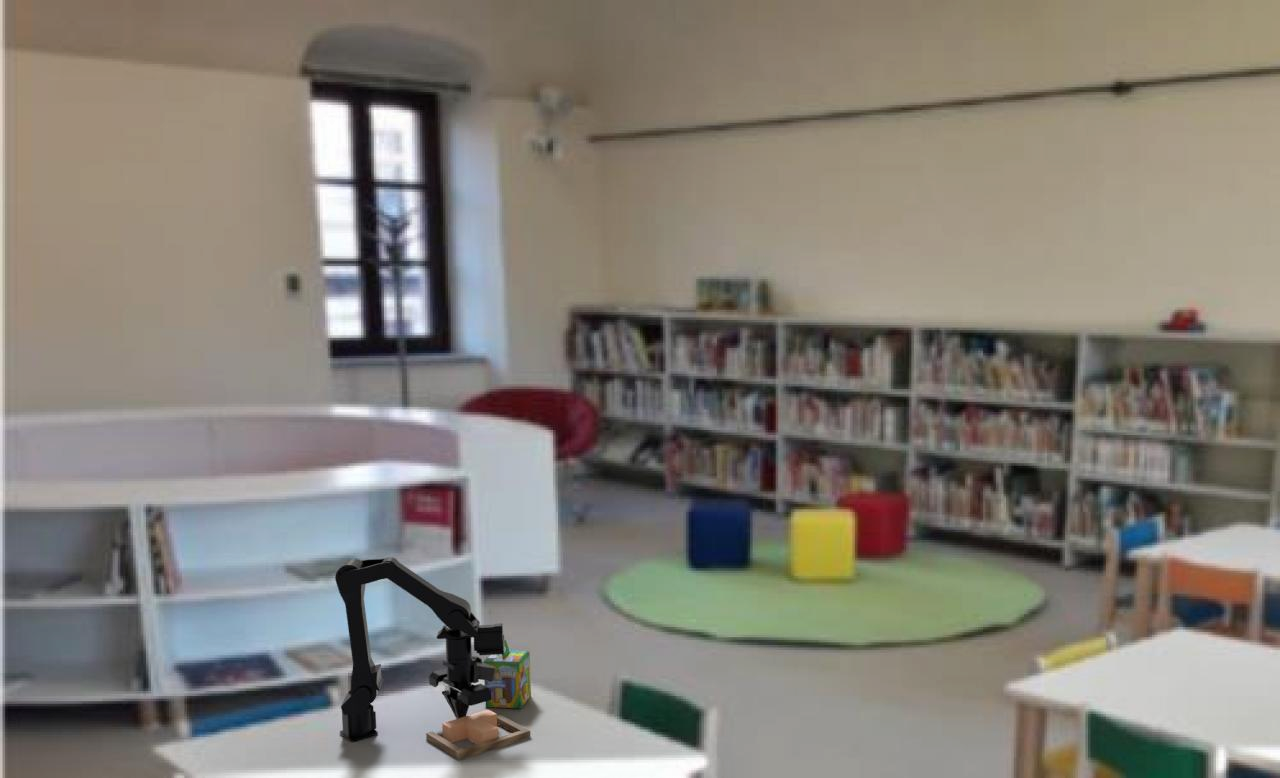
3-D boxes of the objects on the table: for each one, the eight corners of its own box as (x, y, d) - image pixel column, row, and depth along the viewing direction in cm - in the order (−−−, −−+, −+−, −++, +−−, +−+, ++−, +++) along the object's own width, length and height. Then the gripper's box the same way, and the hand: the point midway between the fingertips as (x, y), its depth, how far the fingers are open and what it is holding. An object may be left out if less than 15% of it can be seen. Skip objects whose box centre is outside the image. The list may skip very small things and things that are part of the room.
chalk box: (521, 710, 266) (519, 649, 264) (484, 708, 267) (482, 647, 266) (532, 695, 275) (530, 636, 273) (496, 693, 277) (494, 635, 275)
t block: (467, 753, 242) (466, 737, 241) (442, 738, 250) (442, 723, 250) (514, 738, 249) (513, 722, 249) (488, 724, 257) (488, 709, 257)
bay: (459, 760, 238) (459, 753, 238) (426, 739, 249) (426, 733, 249) (530, 737, 249) (530, 730, 249) (495, 718, 261) (495, 712, 260)
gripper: (511, 658, 251) (513, 725, 253) (468, 638, 266) (471, 702, 267) (468, 669, 244) (470, 738, 246) (426, 648, 259) (429, 714, 260)
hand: (461, 722), depth 255 cm, fingers closed
